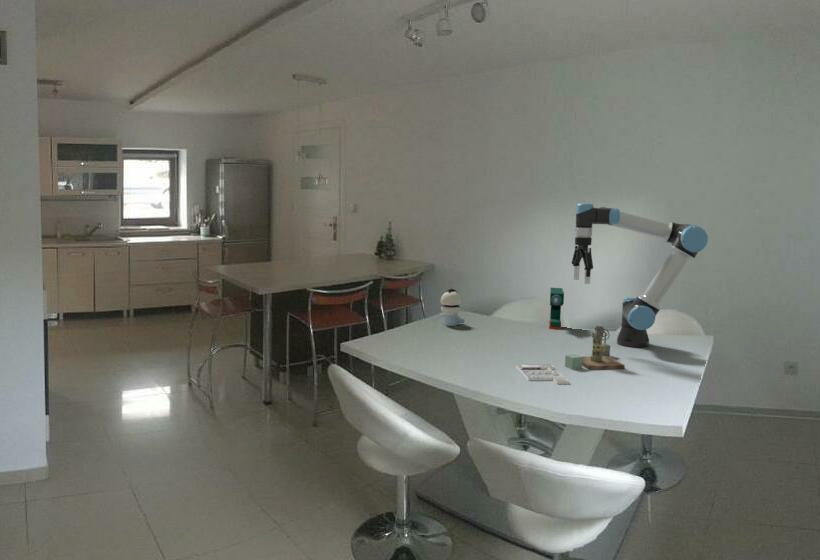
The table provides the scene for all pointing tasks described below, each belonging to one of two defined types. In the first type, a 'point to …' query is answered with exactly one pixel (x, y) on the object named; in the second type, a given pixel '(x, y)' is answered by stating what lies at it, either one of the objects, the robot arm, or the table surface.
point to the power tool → (556, 307)
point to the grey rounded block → (607, 350)
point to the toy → (451, 308)
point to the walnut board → (601, 363)
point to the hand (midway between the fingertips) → (581, 281)
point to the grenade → (598, 343)
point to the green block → (573, 361)
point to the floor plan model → (542, 366)
